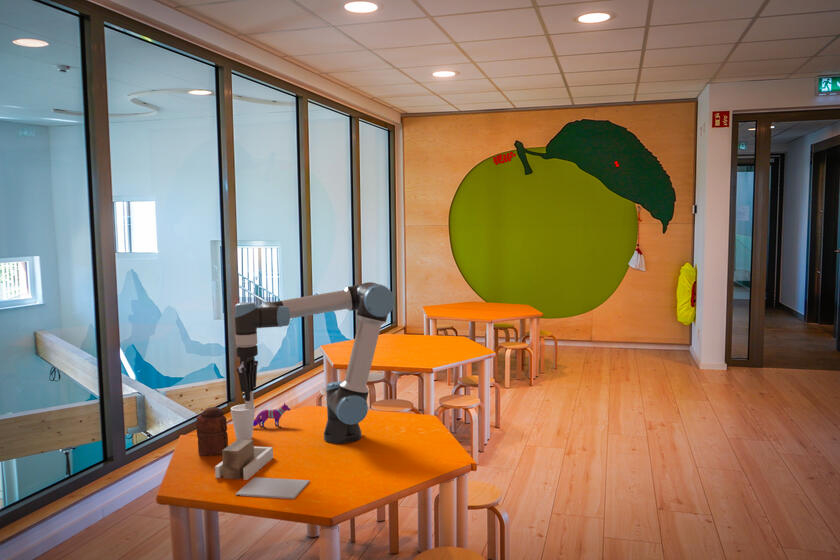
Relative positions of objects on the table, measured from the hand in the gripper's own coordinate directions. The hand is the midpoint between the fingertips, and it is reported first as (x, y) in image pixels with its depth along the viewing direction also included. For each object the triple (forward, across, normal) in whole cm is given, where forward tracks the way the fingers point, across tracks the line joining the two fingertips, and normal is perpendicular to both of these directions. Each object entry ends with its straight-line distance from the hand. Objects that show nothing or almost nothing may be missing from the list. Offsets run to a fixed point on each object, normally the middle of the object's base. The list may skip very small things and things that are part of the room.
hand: (249, 408), depth 249 cm
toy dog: (+20, -40, -10) cm, 46 cm away
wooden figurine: (+20, -7, -19) cm, 28 cm away
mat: (+20, +22, +18) cm, 35 cm away
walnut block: (+20, +10, 0) cm, 23 cm away
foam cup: (+20, -25, -15) cm, 35 cm away
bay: (+20, +6, 0) cm, 21 cm away
